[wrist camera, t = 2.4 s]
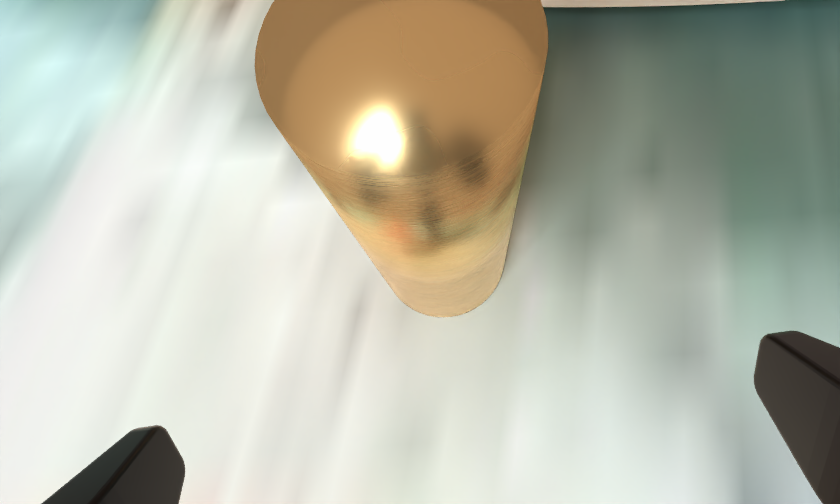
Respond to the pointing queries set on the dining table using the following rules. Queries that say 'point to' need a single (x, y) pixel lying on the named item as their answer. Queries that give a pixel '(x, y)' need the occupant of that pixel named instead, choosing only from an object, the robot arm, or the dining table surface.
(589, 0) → the board
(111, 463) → the robot arm
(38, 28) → the dining table surface
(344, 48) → the brass roller
